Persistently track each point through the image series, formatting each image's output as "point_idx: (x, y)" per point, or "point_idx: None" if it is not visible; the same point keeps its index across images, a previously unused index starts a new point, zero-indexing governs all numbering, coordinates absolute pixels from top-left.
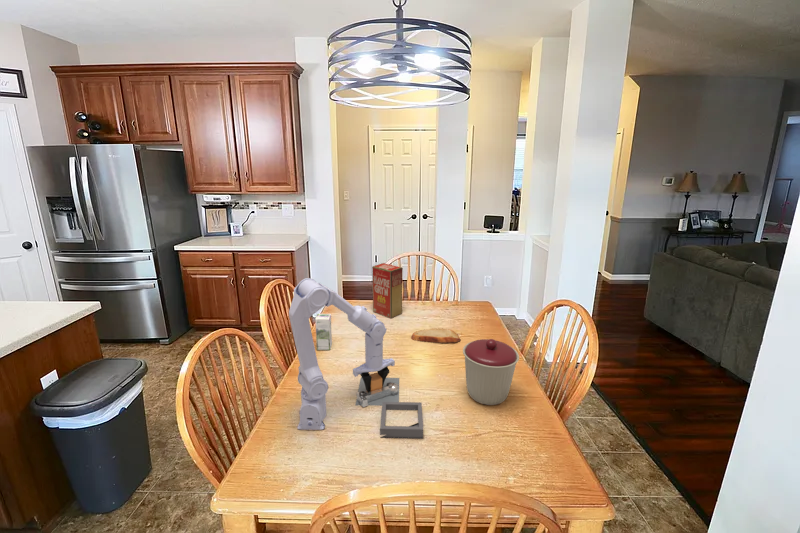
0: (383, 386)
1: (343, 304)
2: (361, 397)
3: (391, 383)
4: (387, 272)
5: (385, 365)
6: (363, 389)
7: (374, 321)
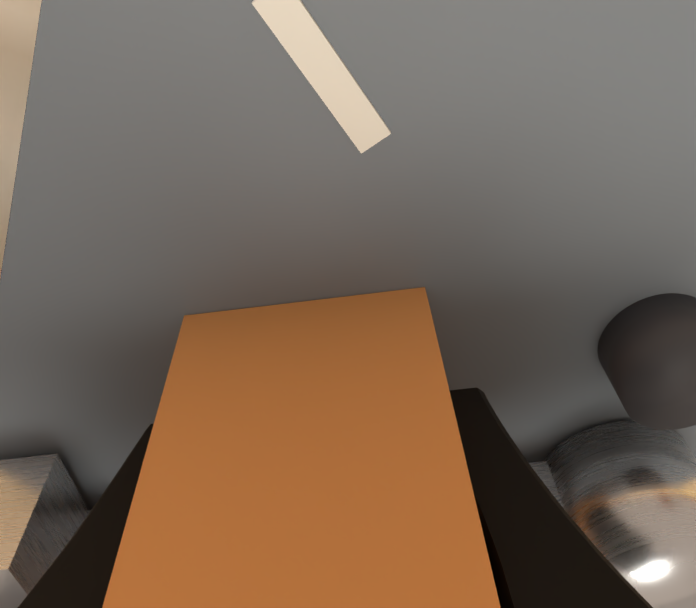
0: (564, 290)
1: None
2: None
3: (685, 545)
4: None
5: None
6: (128, 250)
7: None
